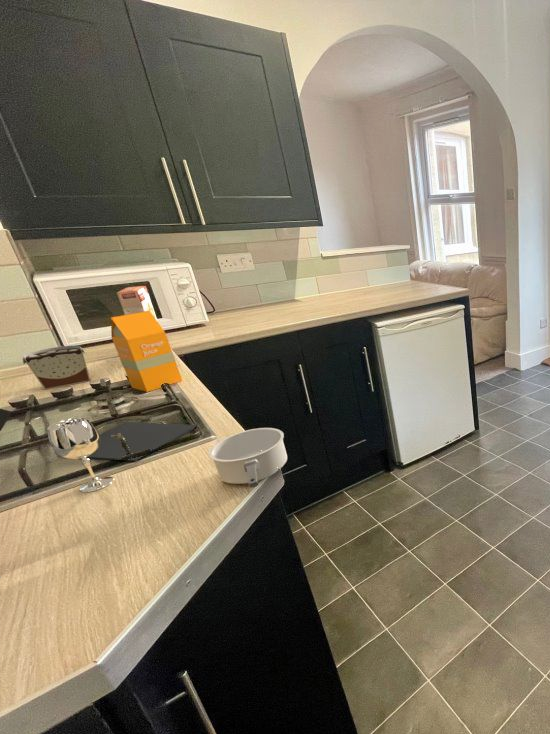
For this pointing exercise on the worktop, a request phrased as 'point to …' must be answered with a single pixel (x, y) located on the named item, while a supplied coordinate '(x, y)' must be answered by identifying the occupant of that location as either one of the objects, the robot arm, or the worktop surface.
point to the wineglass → (77, 446)
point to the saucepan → (249, 455)
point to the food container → (58, 366)
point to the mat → (137, 438)
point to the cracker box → (135, 300)
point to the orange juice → (144, 351)
